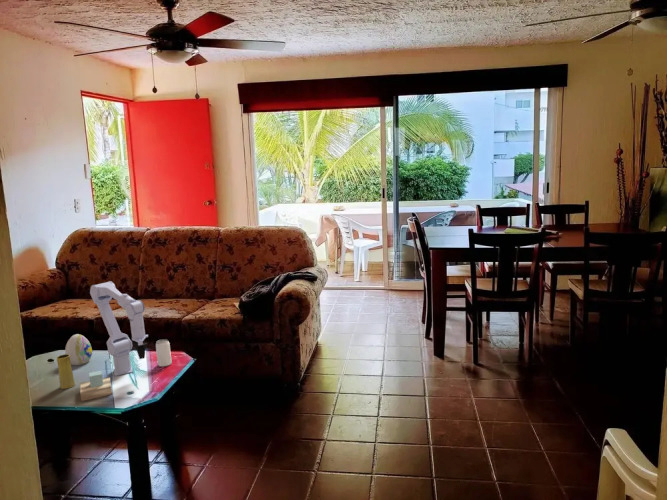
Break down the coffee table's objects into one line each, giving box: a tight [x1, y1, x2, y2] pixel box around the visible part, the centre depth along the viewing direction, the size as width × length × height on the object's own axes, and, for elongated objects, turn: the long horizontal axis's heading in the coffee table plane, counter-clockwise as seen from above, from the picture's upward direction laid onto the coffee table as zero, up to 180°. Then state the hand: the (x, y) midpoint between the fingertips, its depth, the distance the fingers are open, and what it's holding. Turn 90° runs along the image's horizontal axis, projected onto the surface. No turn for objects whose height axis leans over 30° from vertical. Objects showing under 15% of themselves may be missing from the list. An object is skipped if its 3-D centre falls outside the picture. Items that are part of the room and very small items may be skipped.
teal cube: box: [88, 370, 104, 388], centre depth 227 cm, size 5×5×5 cm
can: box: [155, 338, 173, 368], centre depth 256 cm, size 6×6×12 cm
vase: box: [56, 354, 76, 390], centre depth 236 cm, size 6×6×14 cm
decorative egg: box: [64, 333, 93, 366], centre depth 267 cm, size 12×12×15 cm
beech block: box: [79, 377, 113, 402], centre depth 228 cm, size 12×12×4 cm
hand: (141, 356), depth 240 cm, fingers open, 7 cm apart
